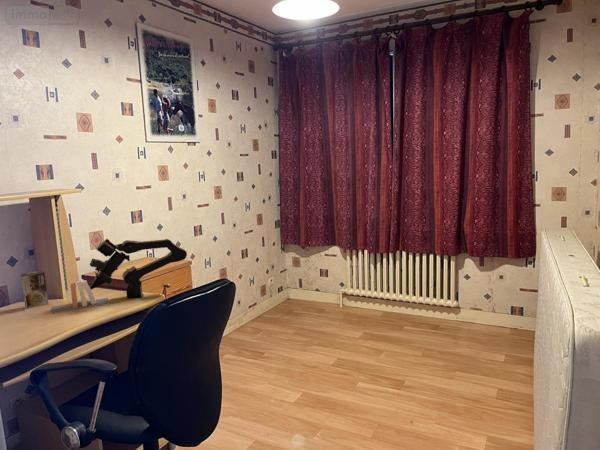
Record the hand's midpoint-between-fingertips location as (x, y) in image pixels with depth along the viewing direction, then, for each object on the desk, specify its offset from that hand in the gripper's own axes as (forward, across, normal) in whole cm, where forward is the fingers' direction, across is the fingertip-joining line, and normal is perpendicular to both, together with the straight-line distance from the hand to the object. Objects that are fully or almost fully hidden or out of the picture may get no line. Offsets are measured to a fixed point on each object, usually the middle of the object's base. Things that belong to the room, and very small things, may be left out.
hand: (90, 288), depth 208 cm
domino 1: (+10, 0, 0) cm, 10 cm away
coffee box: (+22, -13, -10) cm, 27 cm away
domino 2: (+7, 0, +3) cm, 8 cm away
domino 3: (+4, 0, +6) cm, 7 cm away
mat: (+9, 0, +2) cm, 9 cm away
